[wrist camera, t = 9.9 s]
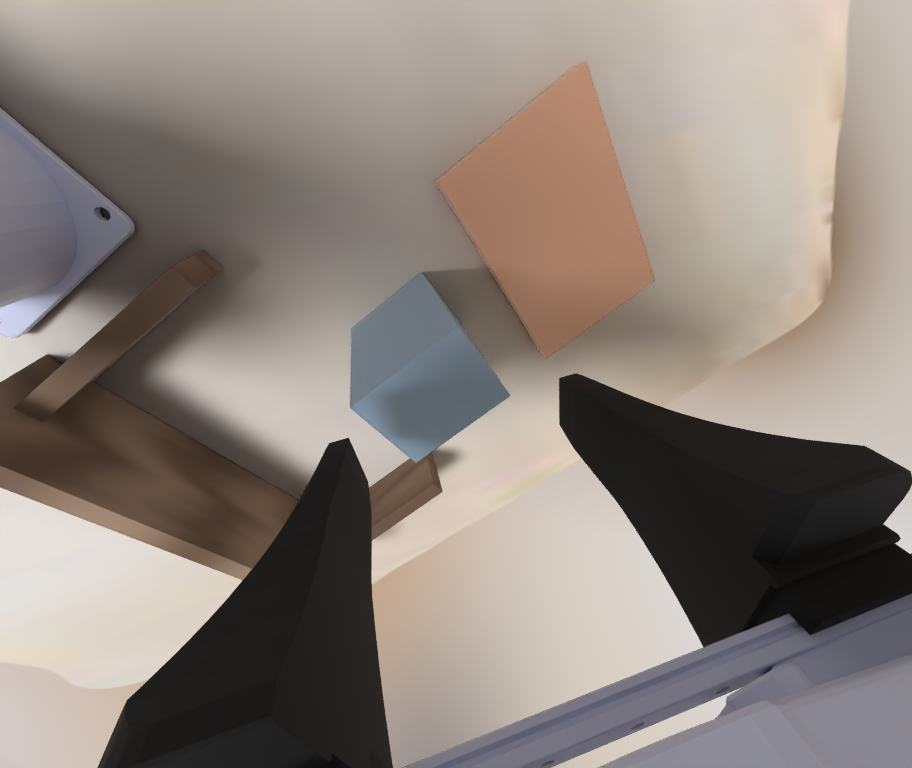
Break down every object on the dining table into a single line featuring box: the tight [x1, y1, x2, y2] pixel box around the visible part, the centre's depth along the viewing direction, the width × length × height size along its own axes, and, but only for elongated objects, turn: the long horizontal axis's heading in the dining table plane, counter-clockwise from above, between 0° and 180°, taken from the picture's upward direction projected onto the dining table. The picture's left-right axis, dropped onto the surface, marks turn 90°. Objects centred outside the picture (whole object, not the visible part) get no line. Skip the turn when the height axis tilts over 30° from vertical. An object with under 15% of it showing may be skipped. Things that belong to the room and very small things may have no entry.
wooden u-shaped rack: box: [0, 250, 443, 580], centre depth 19 cm, size 20×10×6 cm, turn 35°
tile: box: [435, 61, 655, 358], centre depth 20 cm, size 12×8×1 cm, turn 35°
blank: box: [350, 272, 510, 463], centre depth 17 cm, size 4×5×8 cm
